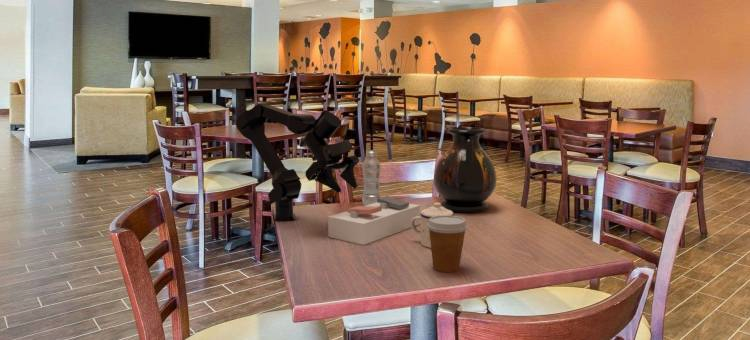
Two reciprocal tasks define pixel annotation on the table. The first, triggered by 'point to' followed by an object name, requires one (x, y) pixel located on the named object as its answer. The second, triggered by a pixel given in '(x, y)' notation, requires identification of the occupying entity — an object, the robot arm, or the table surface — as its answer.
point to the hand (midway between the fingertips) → (348, 189)
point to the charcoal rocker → (393, 202)
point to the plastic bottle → (371, 178)
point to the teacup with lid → (425, 216)
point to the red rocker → (365, 209)
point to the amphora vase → (465, 172)
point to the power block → (372, 223)
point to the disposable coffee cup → (446, 241)
